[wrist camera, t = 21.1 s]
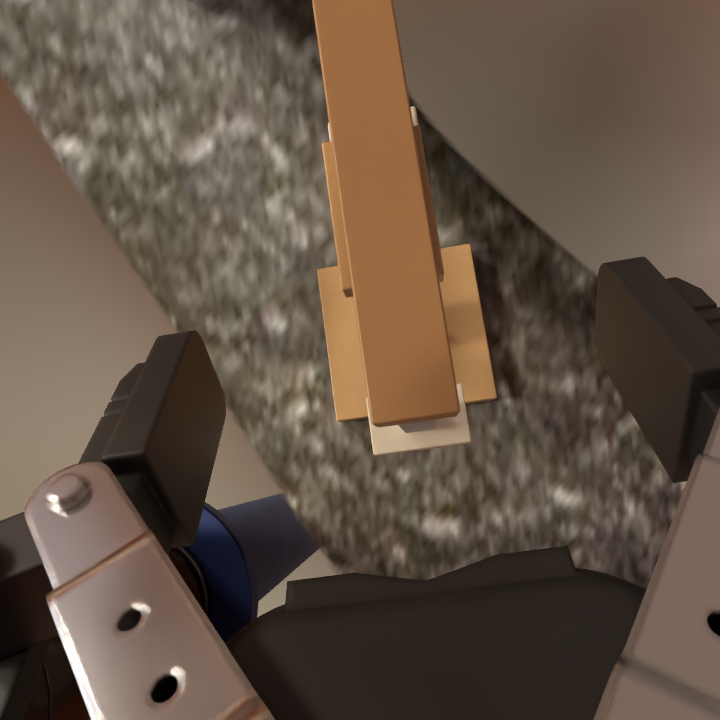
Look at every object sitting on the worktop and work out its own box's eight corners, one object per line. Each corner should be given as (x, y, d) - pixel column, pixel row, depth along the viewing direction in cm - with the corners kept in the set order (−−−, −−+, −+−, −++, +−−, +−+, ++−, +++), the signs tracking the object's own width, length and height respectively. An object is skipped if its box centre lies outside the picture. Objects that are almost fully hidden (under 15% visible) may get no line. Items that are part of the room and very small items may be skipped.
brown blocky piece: (382, 455, 30) (344, 455, 16) (343, 174, 32) (281, -33, 18) (463, 444, 29) (496, 434, 16) (417, 161, 32) (409, -60, 18)
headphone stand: (340, 422, 39) (243, 385, 18) (321, 276, 41) (212, 92, 20) (494, 400, 38) (573, 335, 18) (468, 251, 40) (512, 33, 19)
